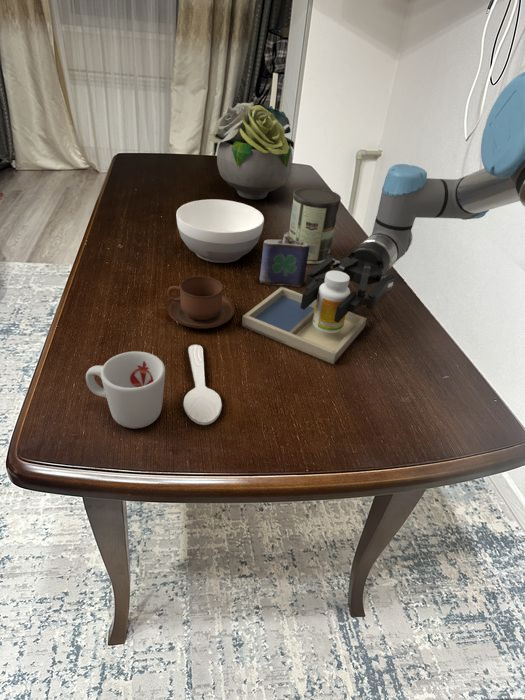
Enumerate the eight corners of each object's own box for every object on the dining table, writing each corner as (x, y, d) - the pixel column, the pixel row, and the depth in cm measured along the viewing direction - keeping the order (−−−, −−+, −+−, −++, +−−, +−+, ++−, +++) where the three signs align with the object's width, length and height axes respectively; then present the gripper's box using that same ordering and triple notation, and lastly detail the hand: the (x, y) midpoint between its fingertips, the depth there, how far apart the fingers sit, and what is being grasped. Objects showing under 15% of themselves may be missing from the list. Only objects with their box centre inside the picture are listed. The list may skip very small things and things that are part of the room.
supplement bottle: (349, 330, 85) (360, 280, 80) (324, 336, 83) (334, 286, 77) (331, 314, 89) (341, 266, 83) (306, 320, 87) (315, 271, 81)
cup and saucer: (168, 336, 82) (167, 304, 79) (165, 299, 92) (165, 270, 88) (239, 333, 85) (241, 303, 81) (229, 298, 94) (230, 269, 91)
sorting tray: (364, 327, 91) (366, 318, 89) (333, 364, 80) (335, 354, 79) (280, 295, 97) (281, 286, 96) (241, 326, 87) (242, 316, 86)
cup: (75, 422, 65) (67, 376, 60) (105, 385, 71) (99, 341, 66) (152, 442, 63) (149, 395, 59) (175, 402, 70) (174, 358, 65)
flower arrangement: (196, 184, 147) (197, 93, 132) (269, 179, 157) (277, 94, 143) (231, 214, 130) (237, 114, 115) (310, 206, 140) (324, 113, 126)
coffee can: (319, 244, 119) (329, 186, 111) (336, 263, 111) (348, 202, 103) (279, 245, 116) (287, 186, 108) (294, 265, 109) (303, 203, 100)
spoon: (211, 346, 81) (211, 343, 81) (224, 423, 67) (224, 420, 67) (178, 347, 80) (178, 344, 80) (185, 426, 66) (185, 423, 66)
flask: (259, 284, 100) (264, 234, 94) (259, 277, 103) (264, 228, 96) (304, 287, 101) (312, 238, 95) (302, 280, 103) (310, 232, 97)
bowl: (245, 233, 121) (248, 198, 115) (272, 268, 107) (277, 230, 102) (168, 237, 114) (168, 200, 109) (187, 275, 100) (187, 235, 95)
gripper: (411, 292, 94) (368, 348, 78) (325, 263, 101) (268, 308, 84) (423, 256, 90) (379, 307, 73) (332, 228, 97) (273, 269, 80)
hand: (320, 308), depth 79 cm, fingers closed on supplement bottle, 5 cm apart
